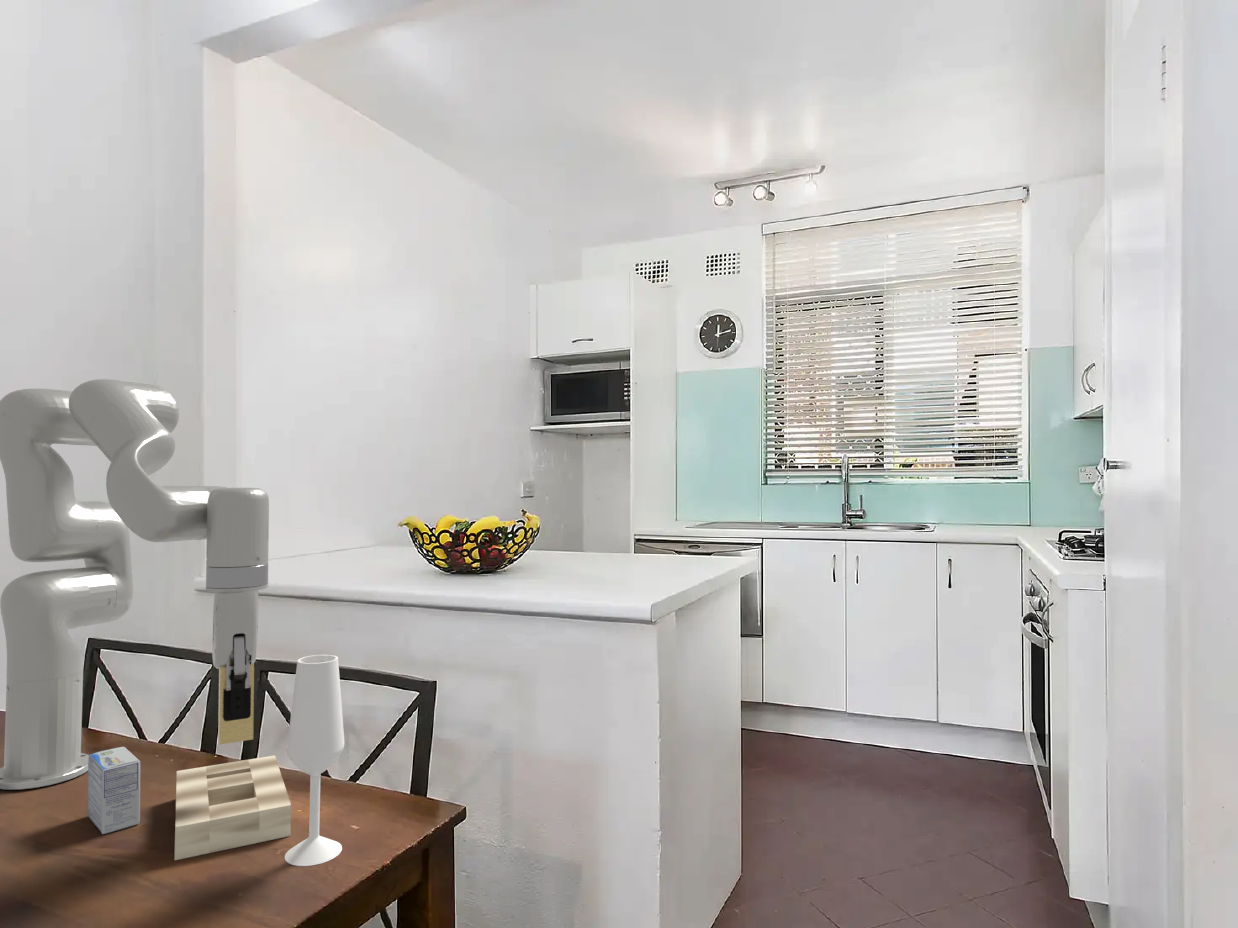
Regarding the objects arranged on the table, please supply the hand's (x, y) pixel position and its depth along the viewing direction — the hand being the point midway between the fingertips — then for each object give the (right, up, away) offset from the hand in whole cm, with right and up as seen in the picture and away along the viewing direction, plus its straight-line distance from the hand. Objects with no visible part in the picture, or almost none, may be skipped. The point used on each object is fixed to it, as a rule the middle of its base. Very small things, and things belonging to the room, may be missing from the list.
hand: (235, 712), depth 100 cm
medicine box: (-17, -15, 0) cm, 23 cm away
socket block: (-2, -15, +2) cm, 15 cm away
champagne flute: (+14, -15, -8) cm, 22 cm away
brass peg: (0, -3, 0) cm, 3 cm away
